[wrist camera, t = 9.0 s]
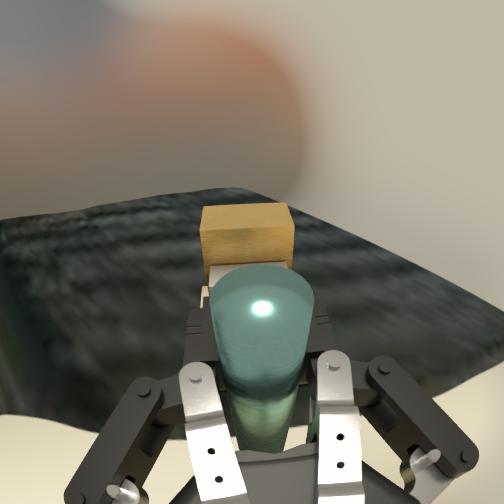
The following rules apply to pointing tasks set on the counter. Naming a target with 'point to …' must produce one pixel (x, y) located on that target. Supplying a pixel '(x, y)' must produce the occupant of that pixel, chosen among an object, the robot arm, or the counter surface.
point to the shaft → (261, 349)
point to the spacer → (246, 235)
